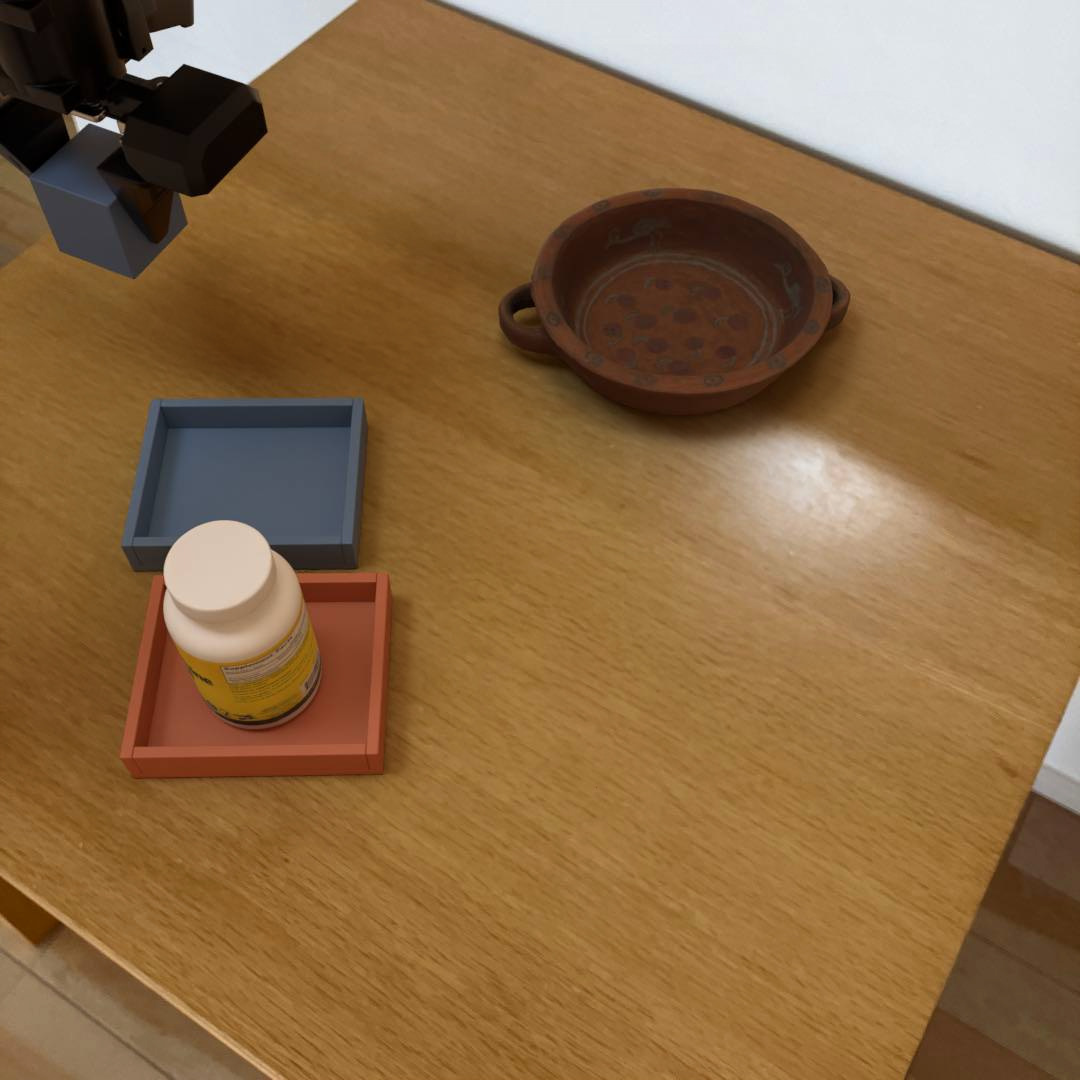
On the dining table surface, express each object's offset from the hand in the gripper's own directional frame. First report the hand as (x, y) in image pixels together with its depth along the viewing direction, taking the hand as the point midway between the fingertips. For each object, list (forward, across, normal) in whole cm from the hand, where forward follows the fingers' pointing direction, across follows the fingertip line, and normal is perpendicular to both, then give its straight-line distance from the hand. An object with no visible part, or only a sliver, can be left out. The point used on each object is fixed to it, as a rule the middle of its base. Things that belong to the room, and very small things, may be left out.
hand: (119, 223), depth 63 cm
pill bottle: (+10, -18, +16) cm, 26 cm away
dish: (+11, -28, -16) cm, 33 cm away
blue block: (+1, 0, 0) cm, 1 cm away
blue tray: (+11, -11, +6) cm, 16 cm away
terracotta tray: (+11, -18, +16) cm, 26 cm away
